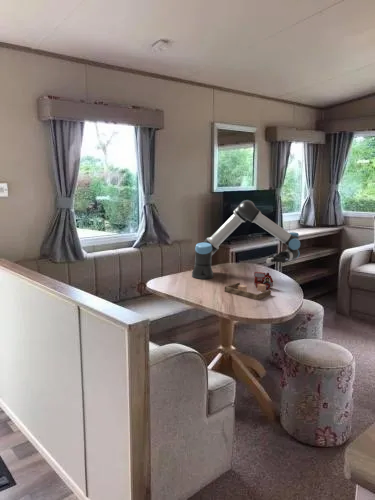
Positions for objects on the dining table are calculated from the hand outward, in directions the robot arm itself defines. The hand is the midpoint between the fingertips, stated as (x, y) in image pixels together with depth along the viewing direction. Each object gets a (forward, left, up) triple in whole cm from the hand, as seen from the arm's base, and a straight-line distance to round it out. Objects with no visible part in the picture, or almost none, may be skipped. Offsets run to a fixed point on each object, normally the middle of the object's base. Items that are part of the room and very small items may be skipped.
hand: (267, 261), depth 268 cm
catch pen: (0, -21, -17) cm, 28 cm away
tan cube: (+3, -10, -18) cm, 20 cm away
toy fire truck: (0, -3, -18) cm, 18 cm away
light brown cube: (-4, -24, -16) cm, 29 cm away
